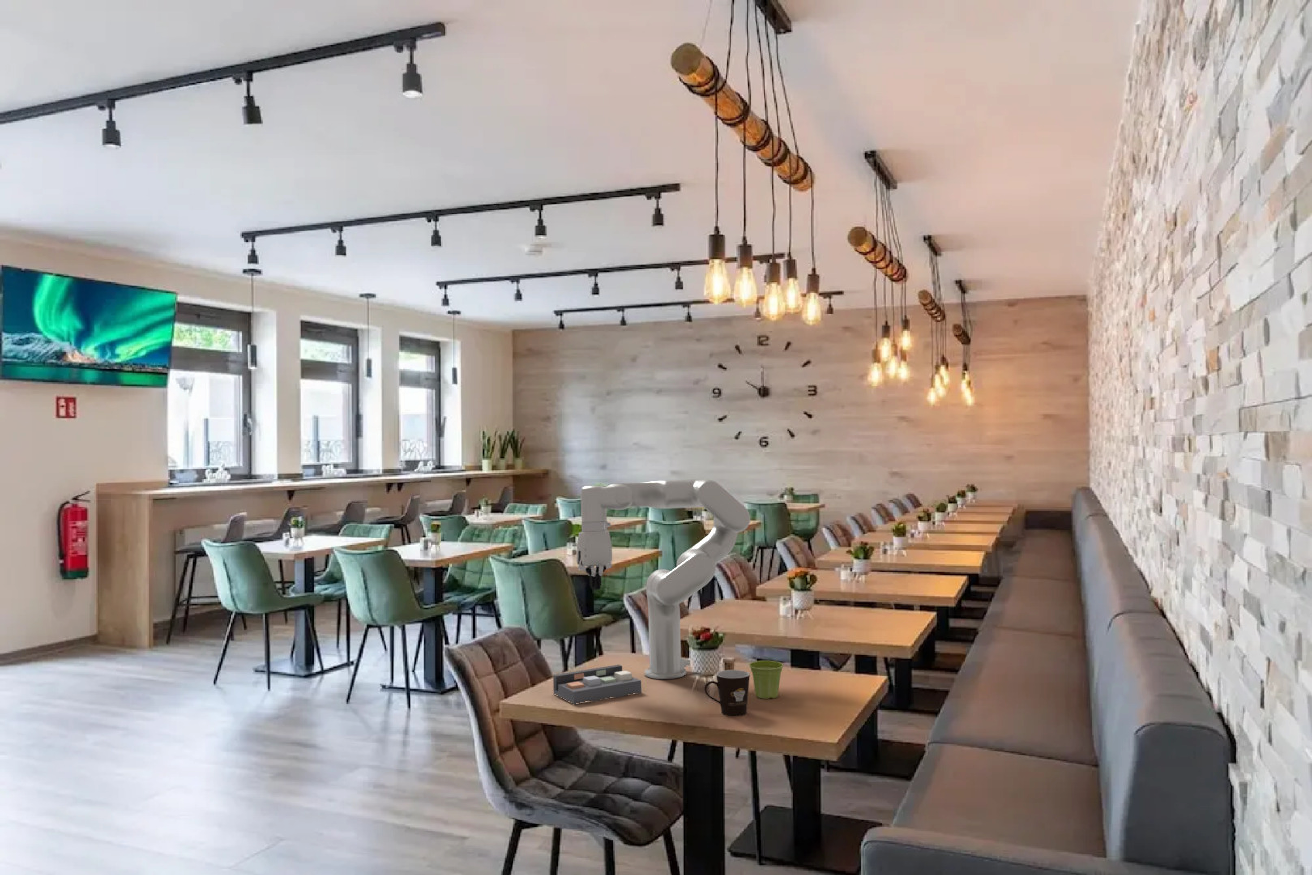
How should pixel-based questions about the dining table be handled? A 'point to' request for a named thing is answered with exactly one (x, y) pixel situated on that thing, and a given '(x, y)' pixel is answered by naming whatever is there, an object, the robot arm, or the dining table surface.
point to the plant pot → (766, 678)
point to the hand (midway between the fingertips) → (595, 588)
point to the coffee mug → (732, 691)
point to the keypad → (597, 690)
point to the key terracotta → (575, 685)
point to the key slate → (591, 681)
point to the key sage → (607, 680)
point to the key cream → (623, 675)
